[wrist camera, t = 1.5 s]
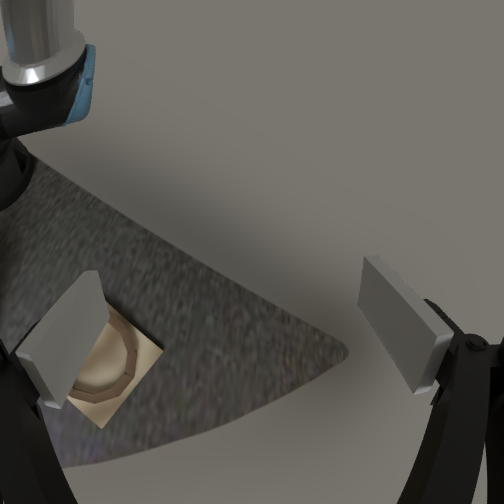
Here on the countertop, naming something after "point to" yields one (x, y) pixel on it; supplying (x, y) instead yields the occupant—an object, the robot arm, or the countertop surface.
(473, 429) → the robot arm
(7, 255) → the countertop surface
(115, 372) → the mug stand
